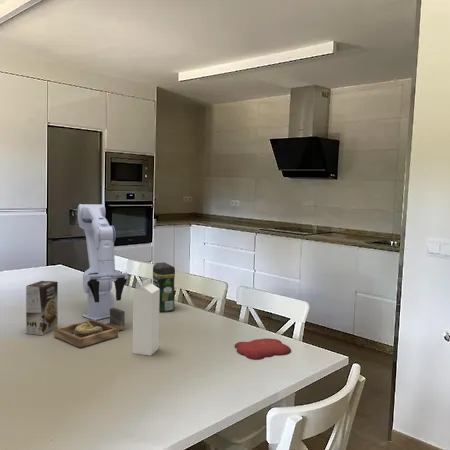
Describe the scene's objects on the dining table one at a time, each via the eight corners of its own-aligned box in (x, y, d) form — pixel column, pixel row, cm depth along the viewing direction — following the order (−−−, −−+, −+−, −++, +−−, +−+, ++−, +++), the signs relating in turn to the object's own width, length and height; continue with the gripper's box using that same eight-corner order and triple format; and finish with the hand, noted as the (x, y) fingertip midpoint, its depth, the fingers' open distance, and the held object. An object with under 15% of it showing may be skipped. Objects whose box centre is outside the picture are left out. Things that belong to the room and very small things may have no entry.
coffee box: (43, 335, 152) (42, 287, 151) (25, 333, 153) (25, 285, 152) (58, 327, 161) (58, 281, 160) (41, 325, 162) (41, 279, 161)
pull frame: (105, 322, 167) (106, 305, 166) (132, 331, 158) (132, 313, 157) (53, 336, 151) (53, 317, 150) (80, 347, 142) (80, 327, 141)
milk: (132, 353, 140) (132, 281, 137) (140, 346, 145) (141, 276, 143) (151, 356, 138) (152, 282, 136) (159, 348, 144) (159, 278, 142)
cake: (87, 346, 146) (86, 330, 145) (66, 340, 151) (64, 324, 151) (111, 335, 155) (109, 319, 154) (89, 329, 160) (88, 314, 159)
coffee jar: (149, 307, 189) (150, 261, 187) (167, 305, 193) (168, 260, 191) (157, 313, 181) (158, 266, 179) (176, 311, 185) (177, 264, 183)
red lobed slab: (249, 362, 136) (249, 356, 136) (227, 347, 149) (227, 341, 149) (298, 354, 144) (298, 348, 144) (273, 340, 157) (274, 334, 156)
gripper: (89, 260, 152) (91, 302, 150) (130, 259, 161) (132, 299, 159) (81, 262, 158) (83, 303, 156) (122, 261, 166) (124, 299, 164)
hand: (108, 301), depth 158 cm, fingers open, 7 cm apart
